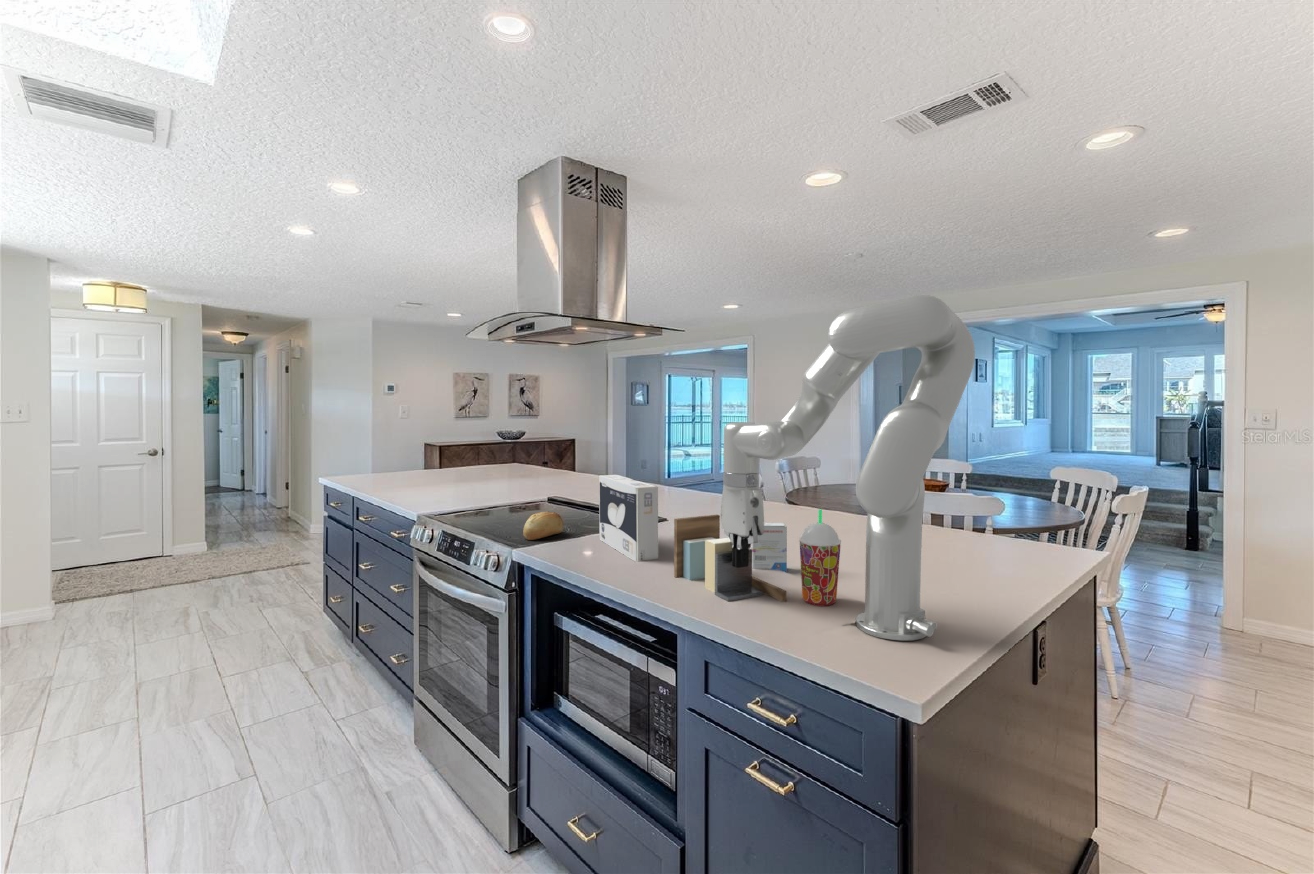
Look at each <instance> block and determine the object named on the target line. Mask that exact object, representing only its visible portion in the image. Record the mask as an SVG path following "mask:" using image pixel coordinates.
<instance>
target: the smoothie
mask: <svg viewBox="0 0 1314 874" xmlns="http://www.w3.org/2000/svg"><path fill="white" fill-rule="evenodd" d="M822 514H823V509H818V522H814V523H812V524H810V525H807V527H806V528H804V530H803V532H802V534H801V536H800V537H799V538H798V542H799V555H800V579H801V593H802V594H801V597H802V599H803V600H804V601H805V602H804V603H807V604H808V605H812V606H818V607H828V606H829V607H830V606H831V605H832V606H833V605H834V603H836V601H837V596H838V595H837V594H838V581H839V569H840V560H841V559H840V556H841V544H842V540H841V539H840V538H839V535H838V533H837V532H836V531H837V530H835V528H834V527H832V526H831V525H829V524H828V523H825V522H823V515H822Z"/></svg>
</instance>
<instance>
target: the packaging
mask: <svg viewBox="0 0 1314 874" xmlns="http://www.w3.org/2000/svg"><path fill="white" fill-rule="evenodd" d="M598 497H599V499H598V507H599V510H598V513H599V515H598V517H599V518H598V520H599V529H598V531H599V540H600V542H602V541H603V544H606V545H607V546H609V547H610V548H612V549H614V550H615V549H616V551H617V552H619V553H621V554H622V555H623V554H624V555H623V556H625V557H627V558H628V559H630V560H632V561H633V562H635V563H637V562H645V561H651V560H652V561H653V560H658V559H659V487H658V486H656V485H652V484H650V483H647V482H643V481H641V480H640V481H639V480H634V479H633V478H629V477H626V476H623V475H619V474H605V475H604V474H603V475H599V476H598Z"/></svg>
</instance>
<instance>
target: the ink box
mask: <svg viewBox="0 0 1314 874" xmlns="http://www.w3.org/2000/svg"><path fill="white" fill-rule="evenodd" d="M787 529H788V528H787V525H786V524H785V523H783V522H764V534H763V535H758V543H754V544H751V547H750V549H752V570H779V571H781V572H784V573H787V571H788V568H787V567H788V566H787V564H788V561H787V558H788V553H787V552H788V549H787V548H788V538H787V536H788V531H787Z"/></svg>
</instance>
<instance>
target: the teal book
mask: <svg viewBox="0 0 1314 874" xmlns="http://www.w3.org/2000/svg"><path fill="white" fill-rule="evenodd" d="M712 539H716V538H713V537H708V538H700V539H692V540H683V577H682V578H685V579H686V580H688V581H694V580H701V579H705V540H712Z"/></svg>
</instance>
